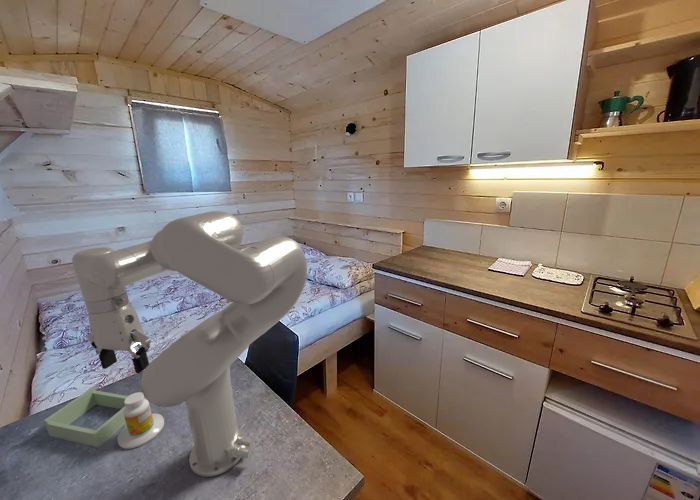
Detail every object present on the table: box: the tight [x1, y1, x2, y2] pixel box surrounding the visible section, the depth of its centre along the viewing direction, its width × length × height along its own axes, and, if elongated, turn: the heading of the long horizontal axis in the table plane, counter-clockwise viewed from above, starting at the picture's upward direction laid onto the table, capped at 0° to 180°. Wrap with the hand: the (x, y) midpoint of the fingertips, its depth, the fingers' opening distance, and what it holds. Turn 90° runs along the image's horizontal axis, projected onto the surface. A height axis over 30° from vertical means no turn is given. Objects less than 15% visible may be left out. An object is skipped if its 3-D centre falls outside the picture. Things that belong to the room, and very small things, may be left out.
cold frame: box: [43, 386, 129, 448], centre depth 80 cm, size 16×12×5 cm
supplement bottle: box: [123, 391, 154, 437], centre depth 76 cm, size 5×5×10 cm
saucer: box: [117, 412, 165, 450], centre depth 78 cm, size 10×10×1 cm
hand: (126, 367), depth 72 cm, fingers open, 9 cm apart
